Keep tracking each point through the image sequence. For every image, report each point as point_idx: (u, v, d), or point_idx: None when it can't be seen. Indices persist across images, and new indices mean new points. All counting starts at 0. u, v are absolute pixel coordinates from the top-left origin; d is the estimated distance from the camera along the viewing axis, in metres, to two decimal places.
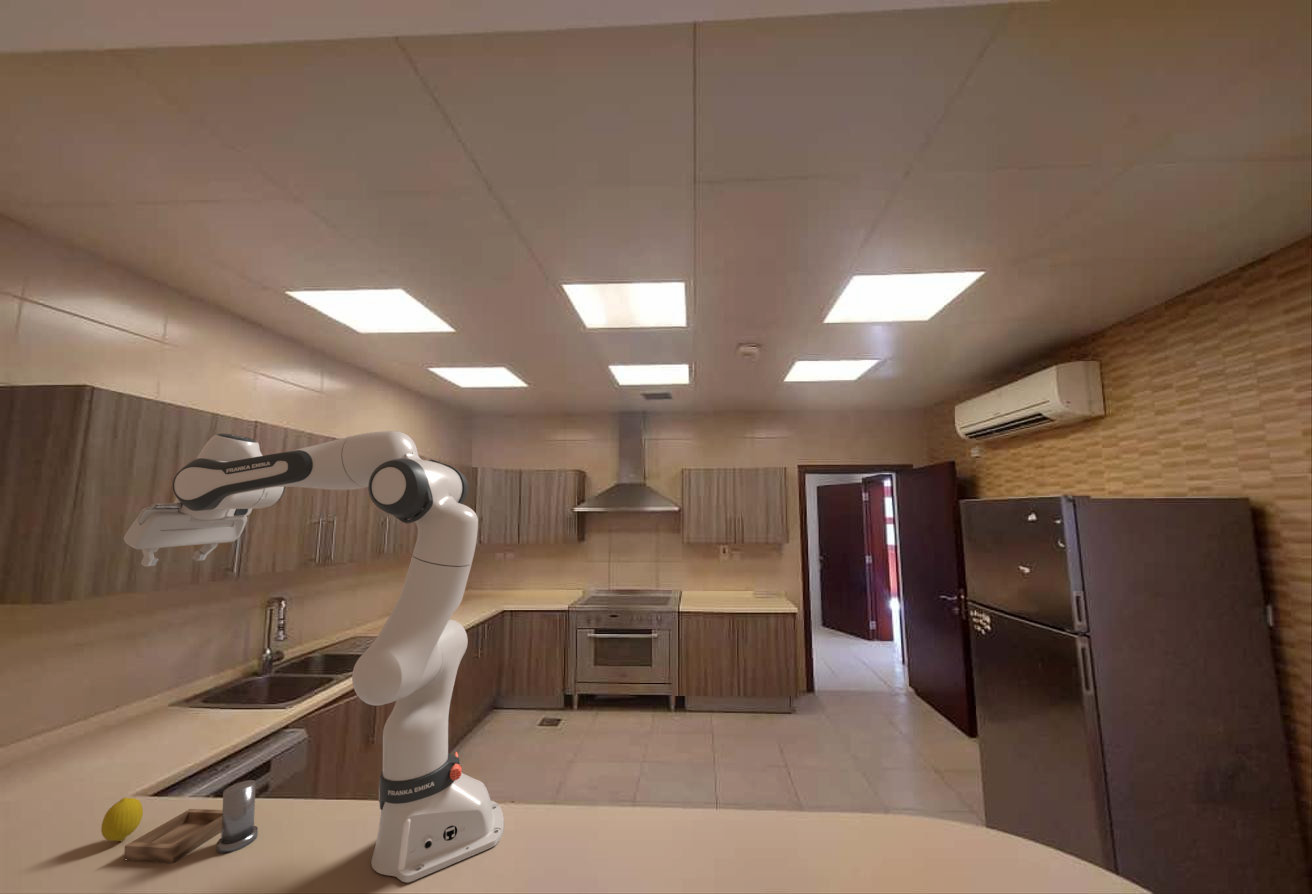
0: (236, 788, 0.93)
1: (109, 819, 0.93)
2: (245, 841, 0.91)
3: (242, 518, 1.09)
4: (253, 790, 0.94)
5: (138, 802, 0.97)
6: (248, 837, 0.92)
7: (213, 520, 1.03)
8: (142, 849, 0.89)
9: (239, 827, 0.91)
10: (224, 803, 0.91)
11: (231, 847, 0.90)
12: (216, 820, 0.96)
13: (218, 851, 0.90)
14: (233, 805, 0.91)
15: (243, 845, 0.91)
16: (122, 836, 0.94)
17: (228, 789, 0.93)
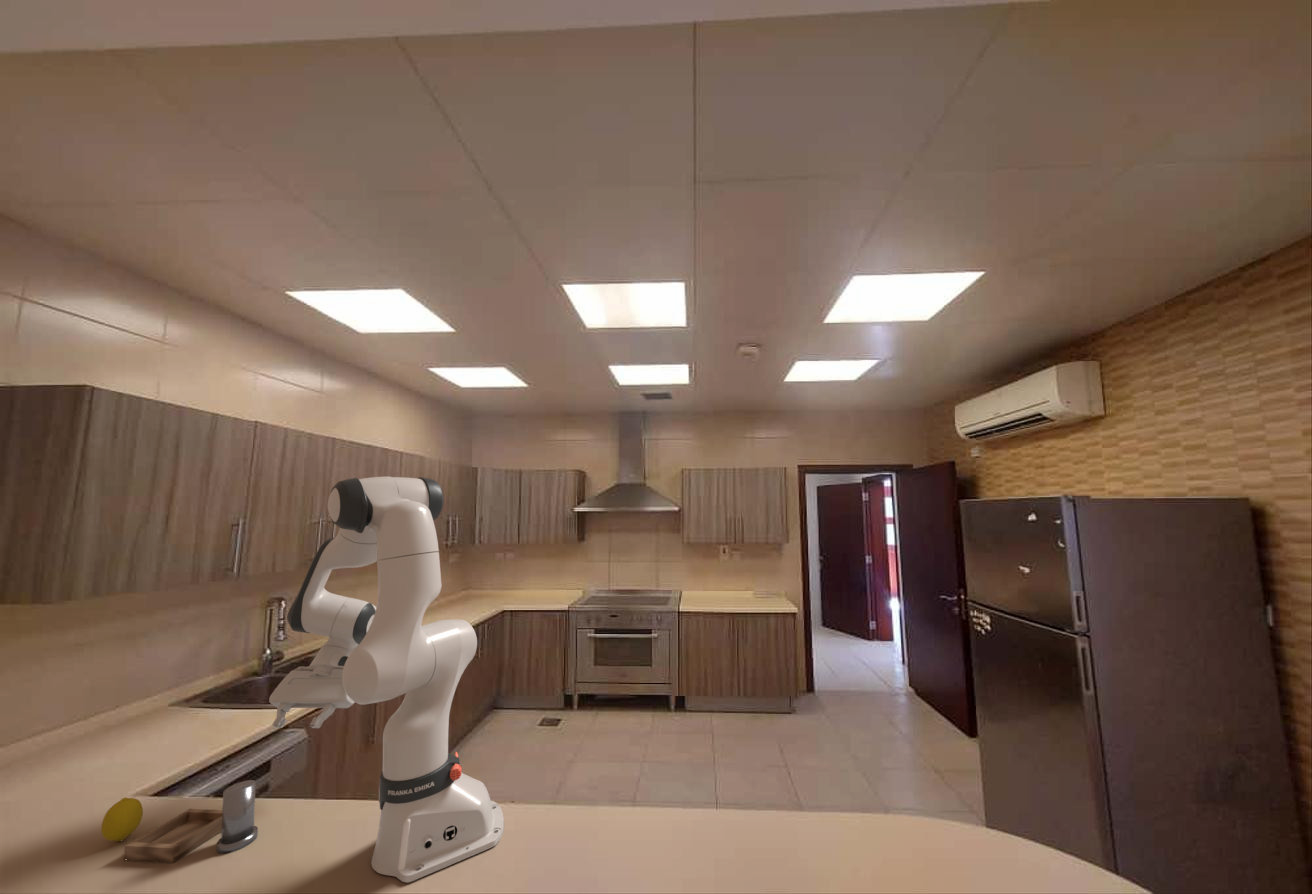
0: (236, 788, 0.93)
1: (109, 819, 0.93)
2: (245, 841, 0.91)
3: None
4: (253, 790, 0.94)
5: (138, 802, 0.97)
6: (248, 837, 0.92)
7: (322, 671, 1.13)
8: (142, 849, 0.89)
9: (239, 827, 0.91)
10: (224, 803, 0.91)
11: (231, 847, 0.90)
12: (216, 820, 0.96)
13: (218, 851, 0.90)
14: (233, 805, 0.91)
15: (243, 845, 0.91)
16: (122, 836, 0.94)
17: (228, 789, 0.93)
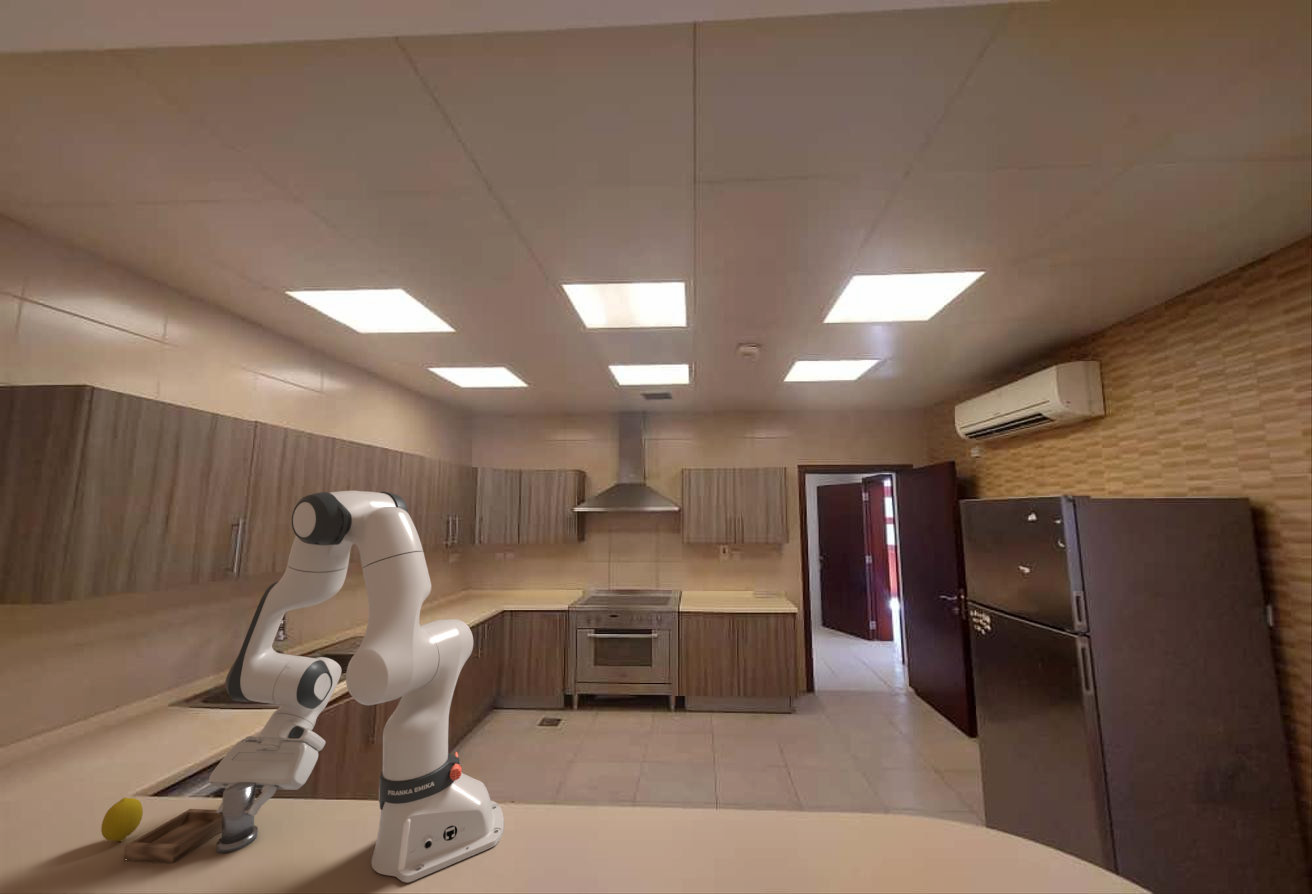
0: (236, 788, 0.93)
1: (109, 819, 0.93)
2: (245, 841, 0.91)
3: (299, 745, 0.98)
4: (253, 790, 0.94)
5: (138, 802, 0.97)
6: (248, 837, 0.92)
7: (270, 745, 0.99)
8: (142, 849, 0.89)
9: (239, 827, 0.91)
10: (224, 803, 0.91)
11: (231, 847, 0.90)
12: (216, 820, 0.96)
13: (218, 851, 0.90)
14: (233, 804, 0.91)
15: (243, 845, 0.91)
16: (122, 836, 0.94)
17: (228, 789, 0.93)
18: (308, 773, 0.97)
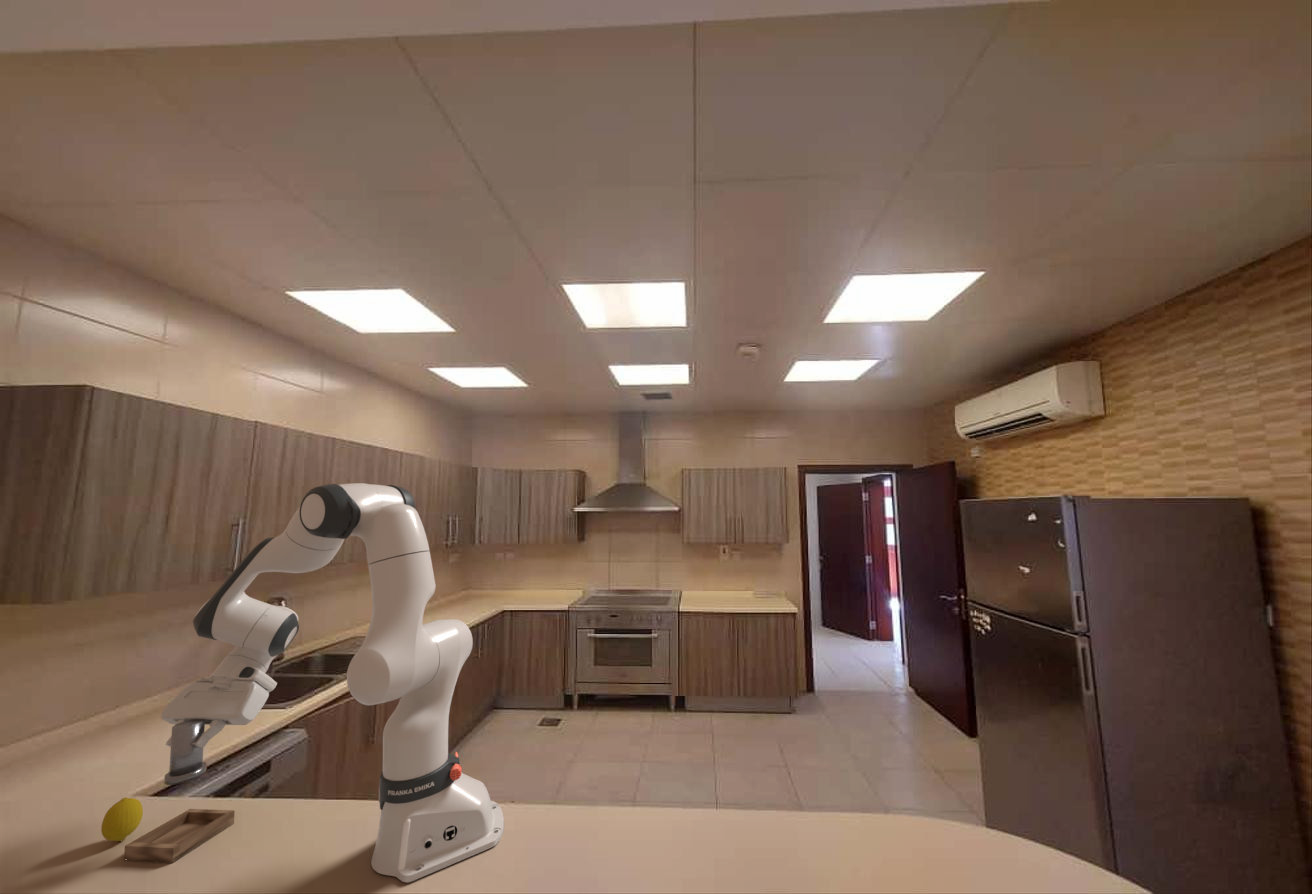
0: (185, 724, 0.96)
1: (109, 819, 0.93)
2: (193, 774, 0.94)
3: (248, 684, 1.02)
4: (202, 727, 0.97)
5: (138, 802, 0.97)
6: (196, 771, 0.95)
7: (221, 683, 1.02)
8: (142, 849, 0.89)
9: (187, 761, 0.94)
10: (172, 737, 0.94)
11: (178, 779, 0.93)
12: (216, 820, 0.96)
13: (165, 782, 0.93)
14: (181, 739, 0.94)
15: (190, 778, 0.94)
16: (122, 836, 0.94)
17: (177, 725, 0.96)
18: (257, 710, 1.01)
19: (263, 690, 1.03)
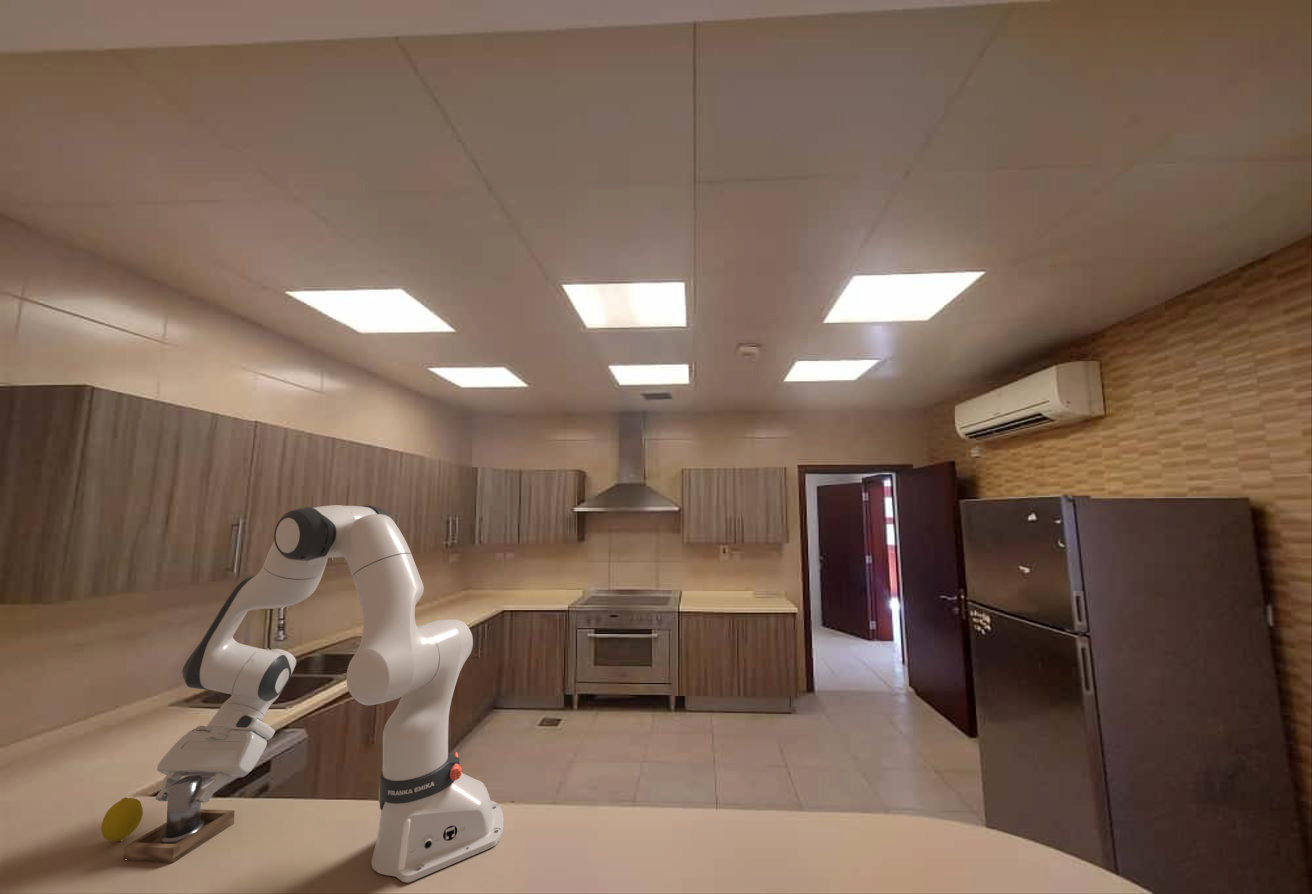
0: (182, 783, 0.95)
1: (109, 819, 0.93)
2: None
3: (246, 734, 1.00)
4: (199, 785, 0.96)
5: (138, 802, 0.97)
6: (193, 831, 0.93)
7: (218, 733, 1.01)
8: (142, 849, 0.89)
9: (184, 821, 0.93)
10: (169, 798, 0.93)
11: (175, 841, 0.91)
12: (216, 820, 0.96)
13: None
14: (178, 799, 0.93)
15: None
16: (122, 836, 0.94)
17: (174, 784, 0.95)
18: (254, 761, 0.99)
19: (261, 739, 1.02)
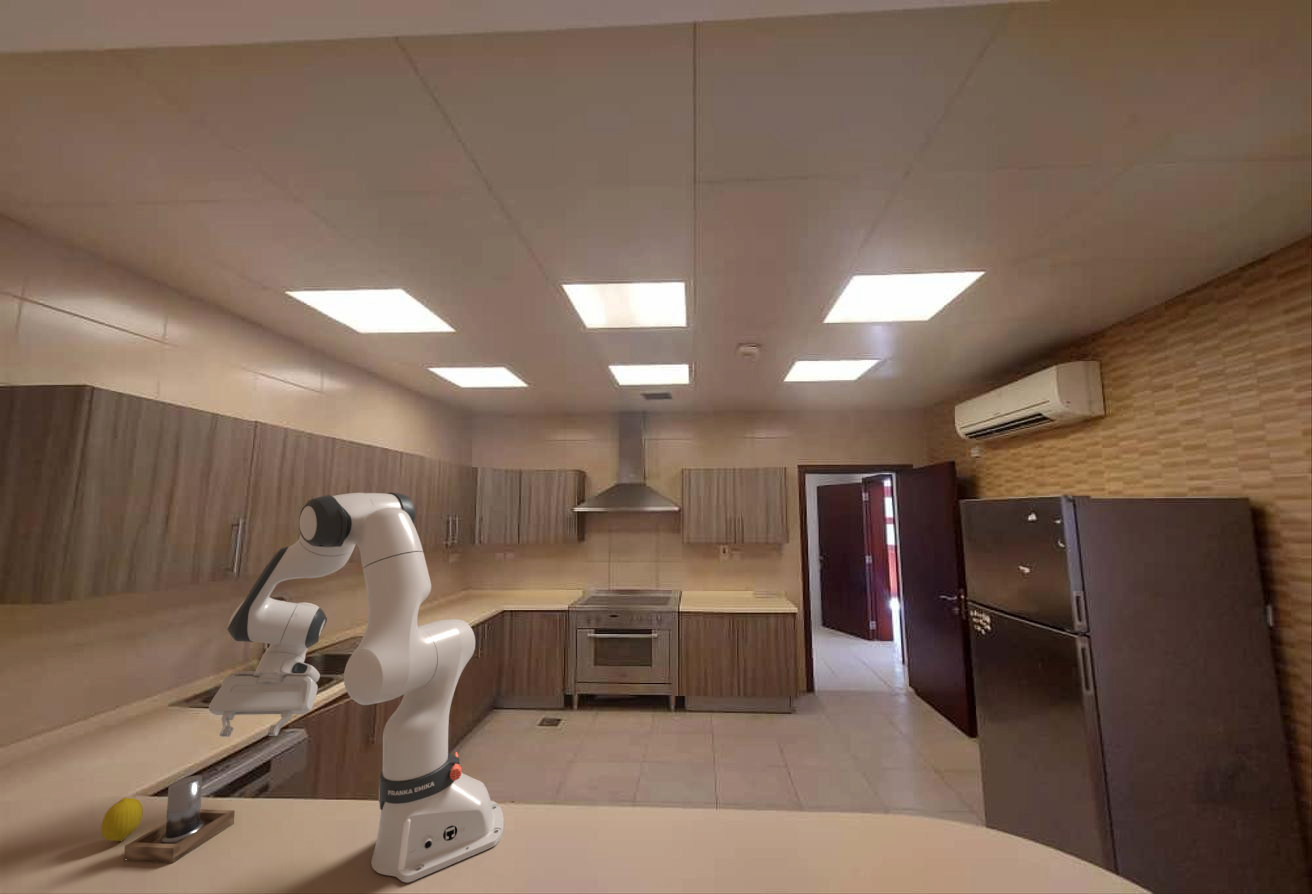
0: (182, 783, 0.95)
1: (109, 819, 0.93)
2: None
3: (304, 678, 1.14)
4: (199, 785, 0.96)
5: (138, 802, 0.97)
6: (193, 831, 0.93)
7: (273, 678, 1.12)
8: (142, 849, 0.89)
9: (184, 821, 0.93)
10: (169, 798, 0.93)
11: (175, 841, 0.91)
12: (216, 820, 0.96)
13: None
14: (178, 799, 0.93)
15: None
16: (122, 836, 0.94)
17: (174, 784, 0.95)
18: (313, 700, 1.14)
19: None
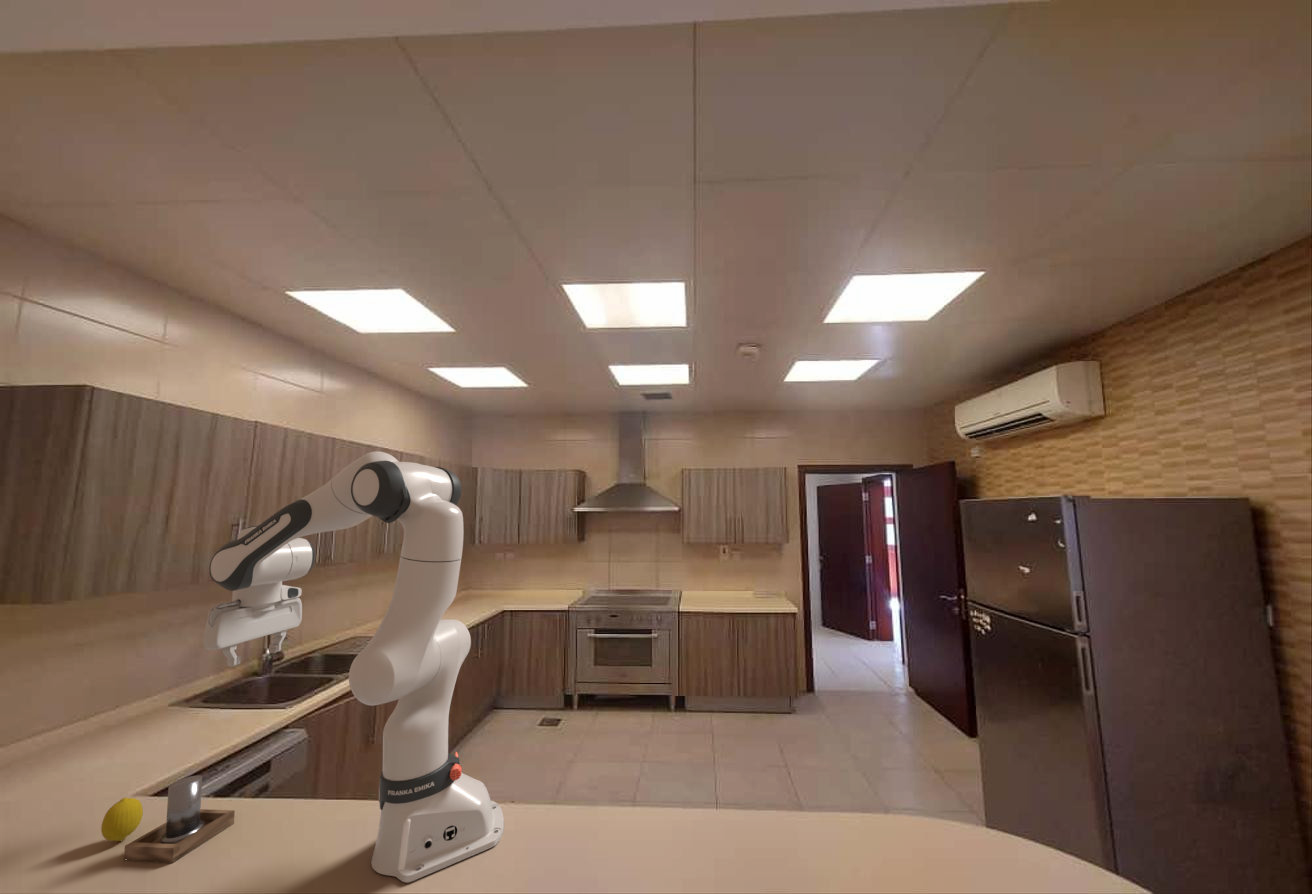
0: (182, 783, 0.95)
1: (109, 819, 0.93)
2: None
3: (296, 600, 1.16)
4: (199, 785, 0.96)
5: (138, 802, 0.97)
6: (193, 831, 0.93)
7: (272, 606, 1.10)
8: (142, 849, 0.89)
9: (184, 821, 0.93)
10: (169, 798, 0.93)
11: (175, 841, 0.91)
12: (216, 820, 0.96)
13: None
14: (178, 799, 0.93)
15: None
16: (122, 836, 0.94)
17: (174, 784, 0.95)
18: None
19: None
